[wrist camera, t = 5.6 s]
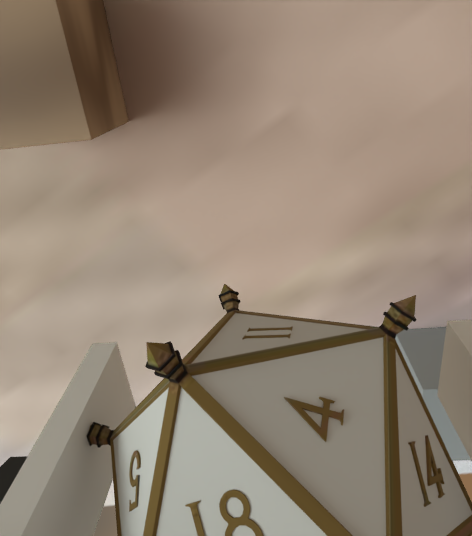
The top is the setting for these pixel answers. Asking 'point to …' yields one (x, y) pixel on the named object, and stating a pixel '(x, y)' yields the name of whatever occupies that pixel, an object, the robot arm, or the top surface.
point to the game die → (285, 436)
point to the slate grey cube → (431, 380)
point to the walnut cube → (57, 73)
